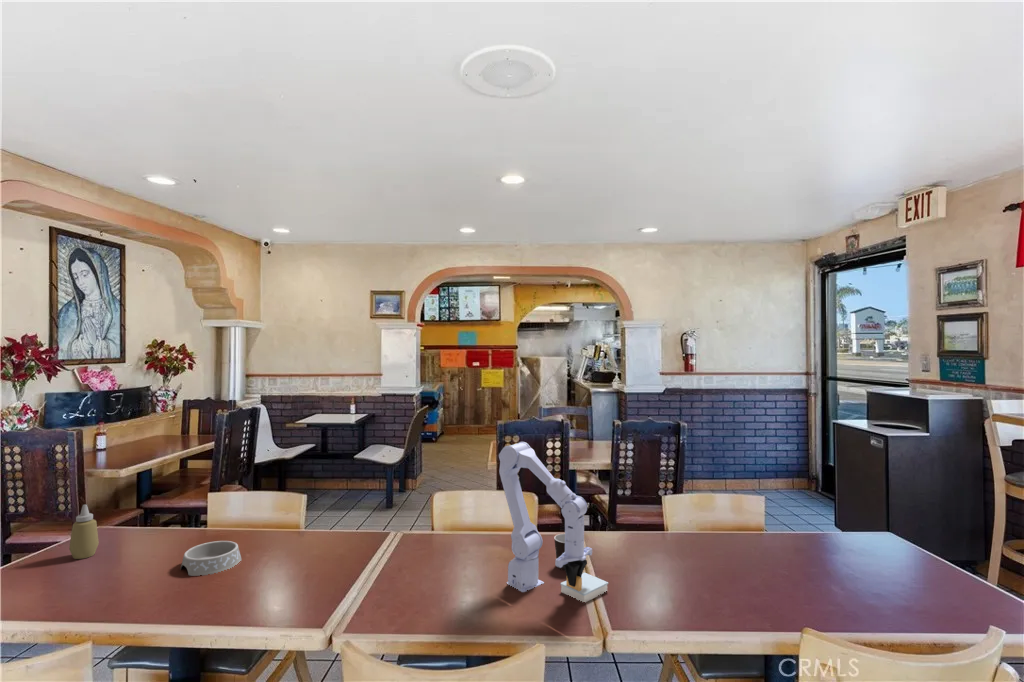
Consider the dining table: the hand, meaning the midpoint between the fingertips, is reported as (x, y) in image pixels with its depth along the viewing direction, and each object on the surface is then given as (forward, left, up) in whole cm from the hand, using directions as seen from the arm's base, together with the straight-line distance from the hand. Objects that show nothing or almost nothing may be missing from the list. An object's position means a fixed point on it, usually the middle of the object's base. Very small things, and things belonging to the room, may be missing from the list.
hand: (574, 584), depth 156 cm
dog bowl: (-75, +98, -5) cm, 123 cm away
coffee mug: (+16, +16, -4) cm, 23 cm away
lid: (+5, 0, -2) cm, 5 cm away
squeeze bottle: (-107, +134, -4) cm, 172 cm away
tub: (+5, 0, -4) cm, 6 cm away
